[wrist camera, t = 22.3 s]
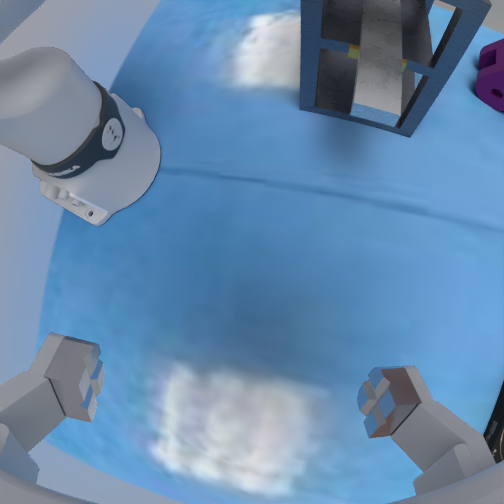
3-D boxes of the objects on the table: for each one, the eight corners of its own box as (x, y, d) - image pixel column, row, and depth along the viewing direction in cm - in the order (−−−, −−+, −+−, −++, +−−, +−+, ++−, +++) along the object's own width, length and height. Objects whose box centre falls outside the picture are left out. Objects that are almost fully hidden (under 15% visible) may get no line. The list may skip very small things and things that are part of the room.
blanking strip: (350, 115, 25) (353, 102, 23) (365, -22, 28) (366, -33, 26) (394, 127, 24) (400, 115, 22) (395, -14, 27) (398, -25, 25)
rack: (298, 113, 42) (298, -49, 16) (319, 25, 44) (323, -103, 18) (409, 141, 39) (493, 9, 14) (411, 48, 41) (453, -69, 16)
